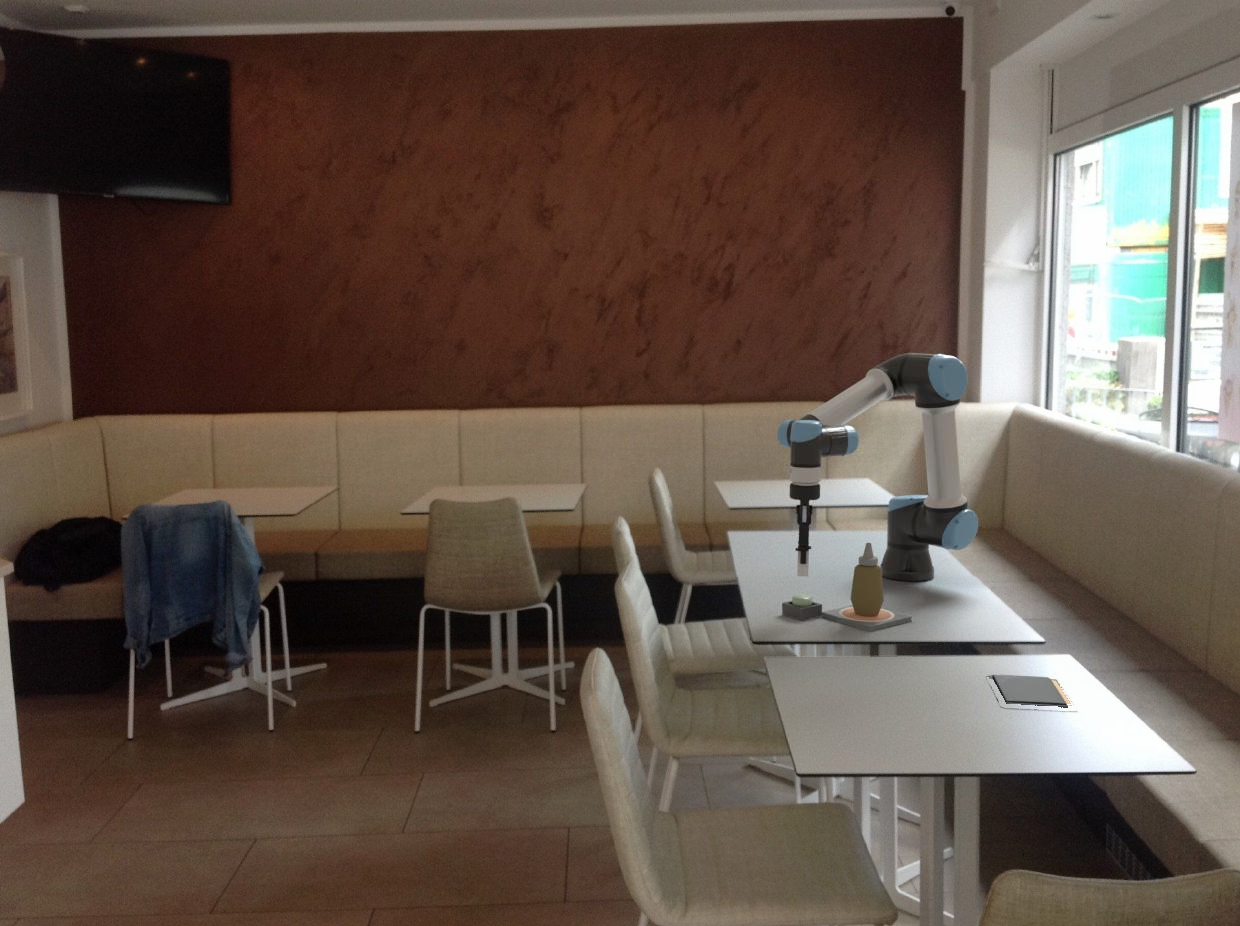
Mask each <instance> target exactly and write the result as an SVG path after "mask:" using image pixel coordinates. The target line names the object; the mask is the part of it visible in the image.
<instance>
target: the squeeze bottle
mask: <svg viewBox="0 0 1240 926" xmlns="http://www.w3.org/2000/svg"><path fill="white" fill-rule="evenodd" d="M865 543H866V544H865V547H864V550H863V555H859V557H858V564H856V565H855V566H854V568H853V569H854V570H853V579H852V585H851V593H850V602H851V604H852V605H853V608H854V612H855V613H856V614H858V615H862V616H875V615H878V614H879V611H880V609H881V608H882V606H883V603H884V601H885V599H884V585H883V576H882V571H881V568H880V565H878V564H879V563H878V561H879V558H878V557H877V556H875V555H874V551H873V546H872V543H871V542H865Z"/></svg>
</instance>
